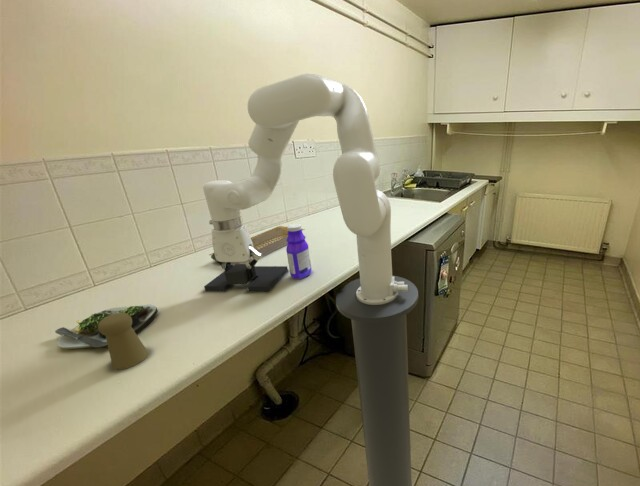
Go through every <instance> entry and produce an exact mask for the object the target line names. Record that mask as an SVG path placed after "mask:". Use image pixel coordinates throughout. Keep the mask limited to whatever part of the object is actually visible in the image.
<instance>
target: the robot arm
mask: <svg viewBox="0 0 640 486" xmlns="http://www.w3.org/2000/svg"><path fill="white" fill-rule="evenodd" d="M247 112H248V115H249V117H250V119H251V120H252V122H253V123H255V125H254V128H253V130H252V132H251V135H250V136H249V139H248V144H247V145H248V148H249V149H250V151H252V152H253V153H254V154H255V155H257V160H256V165H255V167H254V169H253V172H252V174H251V176H250V177H247V178H244V179H241V180H238V181H234V182H232V181H231V180H227V179H219V180H211V181H208V182H205V183H204V184H203V188H202V189H203V192H204V197H205V201H206V204H207V208H208V211H209V215H210V220H209V221H208V224H209V225H211V226H213V228H212V229H211V243H212V250H213V252H212V253H213V255H212V256H211V255H210V258H211V259H212V260H213V261H214V260H215V261H217V263H216V264H218V265H219V266H220V267H221V269H222V270H223V271H225V272H226V271H228V270H229V269H230V268H232V267H233V265H231V262H244V263H245V265H246V266H247V269H246V271H247V275H248V279H249V281H250V282H252V279H253V278H255V277H256V271H255V267H254V266H256V264H257V263H258V262H259V261H260V260H261V258H263V257H262V255H261V254H260V253H259V252H258V251H256V250H255V249H254V247H255V246H254V247H253V243H252V240H251V235H250V232H249V230H248V228H247V226H246V225H244V222H243V218H242V214H241V211H242V210H248V209H250V208H252V207H255V206H256V205H259V204H261V203H263V202H265V201H267V200H268V199H269V198H270V197H271V196H272V194H273V192H274V191H275V189H276V186H277V184H278V183H279V181H280V178H281V174H282V167H283V162H282V159H283V156H284V154H285V151H286V149H287V147H288V145H289V142H290V140H291V138H292V136H293V135H294V133H295V130H296V129H297V126H298V124H299V122H300V121H303V120H306V119H310V118H314V117H332V118H334V120H335V123H336V132H337V133H336V134H337V139H338V142H339V145H340V150H341V155H339V156H338V157H337V159H336V160H335V163H334V165H333V169H332V178H333V179H332V180H333V184H334V189H335V192H336V196H337V199H338V203H339V208H340V211H341V215H342V218H343V221H344V225H345V226H346V227H347V228H348V230H349V231H350V232H351V233H352V234H354V235H356V248H357V249H356V250H357V251H356V252H357V260H358V271H359V278H360V284H361V286H360V287H359V288H358V289H357V291H356V297H357V299H358V300H359V301H360V302H362V303H364V304H368V305H381V304H386V303H388V302H391V301H393V300H394V299H395V298H396V297H397V296H398V291H408V285H404V282H396V281H395V278H394V277H392V276H393V262H392V237H391V235H392V234H391V226H392V225H391V223H392V222H391V219H392V209H391V203H390V199H389V197H388V196H387V195H386V194H385V193H384V192H383V191H381V190H379V189H377V186H376V181H377V179H378V178H379V176H380V173H381V172H380V171H381V165H380V162H379V161H380V160H379V157H378V153H377V149H376V143H375V139H374V134H373V131H372V130H373V129H372V126H371V121H370V116H369V113H368V109H367V107H366V103H365V102H364V100H363V98H362V97H361V95H360V94H359V93H358V92H357V91H356V90H355V89H354V88H352V87H350V86H349V85H347V84H345V83H343V82H340V81H338V80H335V79H331V78H329V77H325V76H322V75H319V74H316V73H303V74H298V75H295V76H293V77H289V78H286V79H283V80H280V81H277V82H274V83H269V84H268V85H264V86H261V87H259V88H257V89H256V90H254V91H253V92H252V93H251V94H250V96H249V97H248V101H247ZM251 256H254V257H255V258H254V259H253V258H252V257H251ZM248 260H249V261H248ZM215 261H214V262H215ZM249 262H250V263H249Z"/></svg>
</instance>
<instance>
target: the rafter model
mask: <svg viewBox="0 0 640 486" xmlns="http://www.w3.org/2000/svg"><path fill="white" fill-rule="evenodd" d="M287 227H288V226H284V225H283V226H282V225H277V227H274V228H271V229H268V230H267V231H264V232H261V233H259V234H256V235H253V236H252V237H251V236H250V237H251V240H252V243H253V247H254V249H255V250H256V251H258V252H259V253H260V254H261V255H262V257H261V258H263V257H265V256H267V255H269V254H272V253H274V252H275V251H277V250H279V249H282V248H283V247H285V246H286V247H287V244H288V242H287V237H288V228H287ZM302 231H305V228H302ZM213 253H214V252H212V253H209V254H208V256H210V257H211V256H212V255H213ZM251 257H252V258H253V259H254V258H255V257H254V256H251ZM213 261H214V263H215V264H218V263H217V261H215V260H213ZM248 261H249V260H248ZM249 263H250V262H249ZM235 264H245V263H244V262H231V265H233V266H234V265H235Z"/></svg>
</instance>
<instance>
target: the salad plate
mask: <svg viewBox="0 0 640 486" xmlns="http://www.w3.org/2000/svg"><path fill="white" fill-rule="evenodd" d="M158 311H159V309H158V308H157V307H156V306H155V305H153V304H140V305H130V306H117V307H111V308H106V309H105V310H104V309H103V310H102V311H99V312H97V313H91V315H90V316H88V317H85V318H84V319H83V320H76V323H77V324H78V325H77V326H75V327H73V328H70V329H69V328H67V327H65V326H63V327H60V328H59V327H58V328H57V329H56V330H55V334H57V335H59V336H61V337H60V338H59V339H57V343H56V344H57V346H58V347H59V348H62V349H84V348H88V349H89V348H104V347H105V348H106V347H108V344H107V340H106V336H105V335H102V334H101V333H100V331H99V330H98V325H99V322H100V321H101V320H102V319H104V318H105V317H107V316H110V315H112V314H116V313H126V314H128V315H129V316H130V317H131V318H132V325H131V327H132V328H133V330H134V331H135V333H136V334H137V335H138V334H139V333H141V331H142V330H143V329H145V328H146V327H147V326H149V325H150V323H151V322H152V321H153V320H154V318H155V317H156V315H157V313H158Z"/></svg>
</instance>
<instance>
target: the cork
mask: <svg viewBox="0 0 640 486" xmlns="http://www.w3.org/2000/svg"><path fill="white" fill-rule="evenodd" d="M131 325H132V318H131V317H130V316H129V315H128V314H126V313H116V314H112V315H110V316H107V317H105V318H104V319H102V320H101V321H100V322H99V325H98V330H99V331H100V333H101V334H102V335H105V336H106V340H107V344H108V346H107V347H108V348H107V349H108V353H109V357H110V361H111V366H112V368H113V369H114V370H124V369H129V368H132V367H135V366H136V365H138V364H140V363H141V362H143V361H144V360H146V358H147V357H148V356H149V350H148V349H147V348H146V347H145V345H144V344H143V342H142V340H141V339H140V337H139V336H138V333H137V334H136V333H135V331H134V330H133V328H132V327H131Z"/></svg>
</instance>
